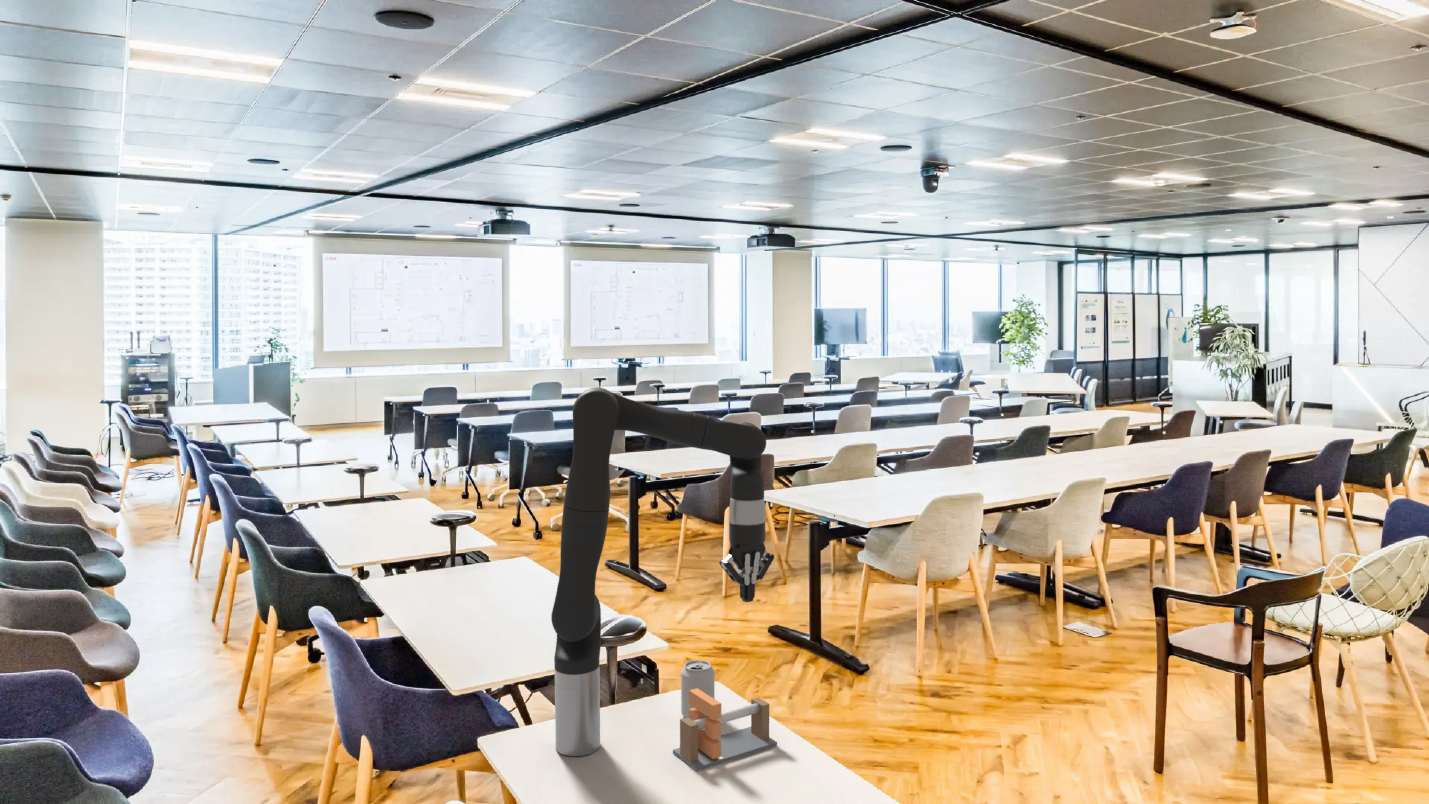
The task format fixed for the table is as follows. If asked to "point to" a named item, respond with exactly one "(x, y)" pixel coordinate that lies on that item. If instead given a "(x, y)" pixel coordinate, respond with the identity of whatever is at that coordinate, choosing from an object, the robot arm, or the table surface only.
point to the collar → (706, 721)
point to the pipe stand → (727, 736)
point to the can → (695, 682)
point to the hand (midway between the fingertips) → (747, 600)
